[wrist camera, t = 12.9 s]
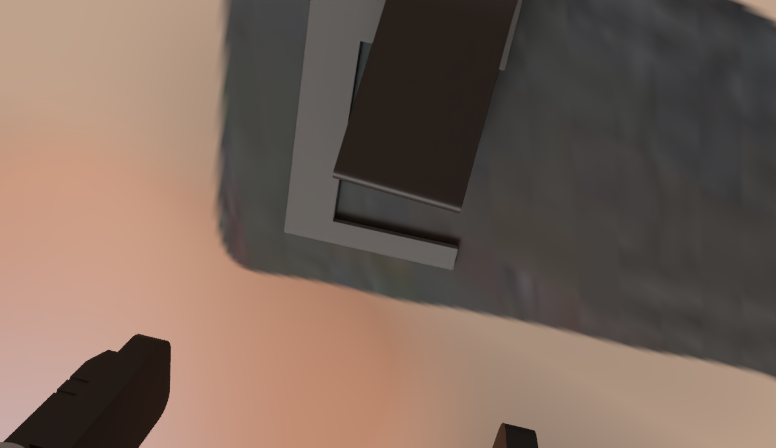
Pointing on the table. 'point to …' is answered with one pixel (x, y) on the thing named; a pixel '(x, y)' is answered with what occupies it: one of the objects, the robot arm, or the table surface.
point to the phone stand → (425, 98)
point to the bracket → (343, 133)
